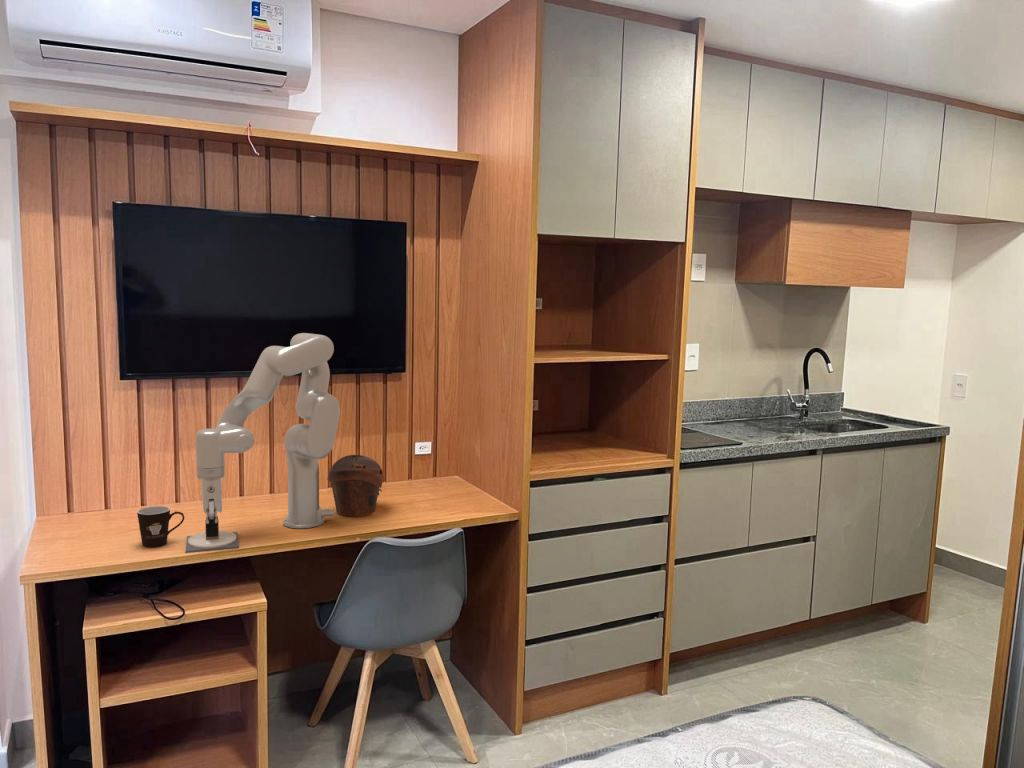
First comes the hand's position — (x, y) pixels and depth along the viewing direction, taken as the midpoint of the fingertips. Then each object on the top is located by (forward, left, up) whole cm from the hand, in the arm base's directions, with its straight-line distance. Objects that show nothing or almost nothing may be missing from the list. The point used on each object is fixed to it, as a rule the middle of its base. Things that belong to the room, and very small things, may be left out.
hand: (212, 532), depth 223 cm
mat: (0, 0, -3) cm, 3 cm away
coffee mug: (+14, -3, -3) cm, 15 cm away
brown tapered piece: (-45, -20, -3) cm, 49 cm away
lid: (0, 0, -3) cm, 3 cm away
